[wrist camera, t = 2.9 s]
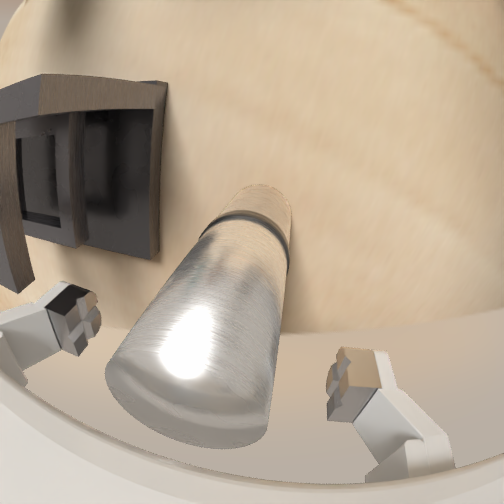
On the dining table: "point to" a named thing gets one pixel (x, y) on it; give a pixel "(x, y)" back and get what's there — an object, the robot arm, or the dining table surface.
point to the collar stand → (79, 167)
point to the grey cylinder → (212, 331)
